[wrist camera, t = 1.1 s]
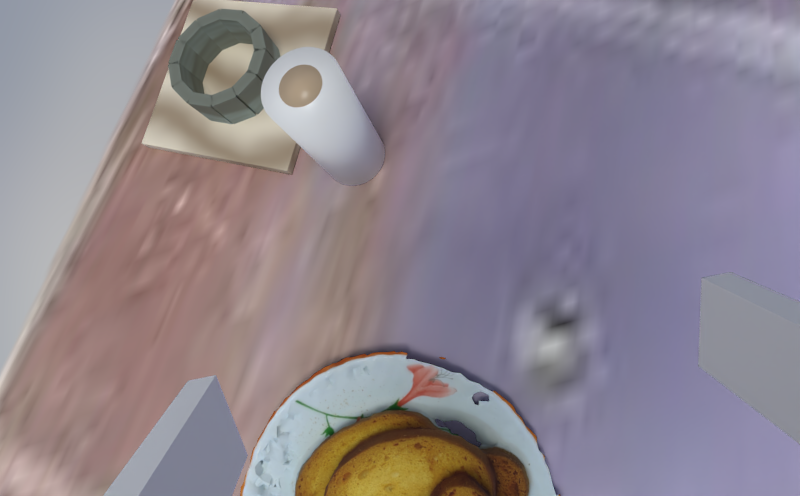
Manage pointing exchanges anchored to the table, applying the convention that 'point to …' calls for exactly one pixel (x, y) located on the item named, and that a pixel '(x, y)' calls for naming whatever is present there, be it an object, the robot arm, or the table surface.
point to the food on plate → (394, 436)
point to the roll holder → (233, 81)
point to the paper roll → (323, 114)
